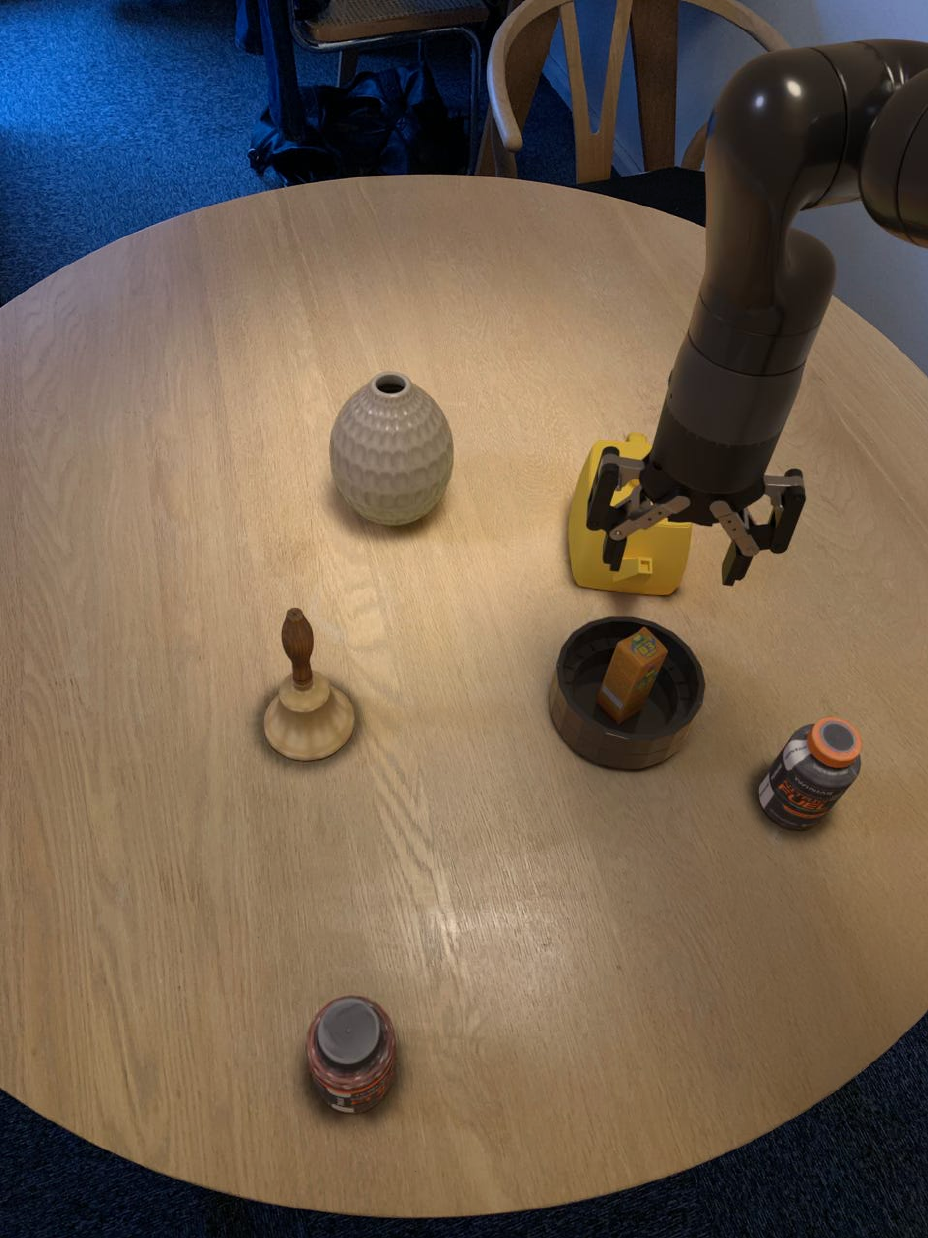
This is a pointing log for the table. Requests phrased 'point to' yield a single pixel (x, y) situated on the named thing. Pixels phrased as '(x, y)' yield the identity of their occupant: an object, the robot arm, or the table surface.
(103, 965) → the table surface
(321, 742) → the hand bell
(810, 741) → the pill bottle
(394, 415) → the vase
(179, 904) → the table surface
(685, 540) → the teapot
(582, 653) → the bowl
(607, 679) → the supplement box
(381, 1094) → the supplement bottle
